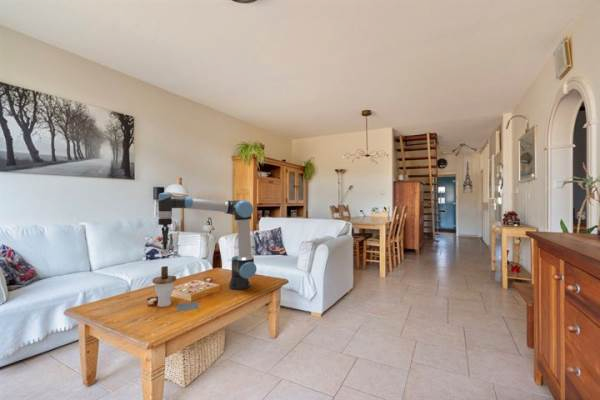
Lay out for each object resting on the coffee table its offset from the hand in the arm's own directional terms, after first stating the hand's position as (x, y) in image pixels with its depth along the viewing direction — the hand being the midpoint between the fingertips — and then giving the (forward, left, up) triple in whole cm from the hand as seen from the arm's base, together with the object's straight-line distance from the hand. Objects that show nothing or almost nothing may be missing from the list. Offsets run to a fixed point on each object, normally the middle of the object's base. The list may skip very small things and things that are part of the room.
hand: (165, 252), depth 173 cm
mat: (-13, +9, -32) cm, 36 cm away
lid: (0, 0, -17) cm, 17 cm away
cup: (0, 0, -32) cm, 32 cm away
